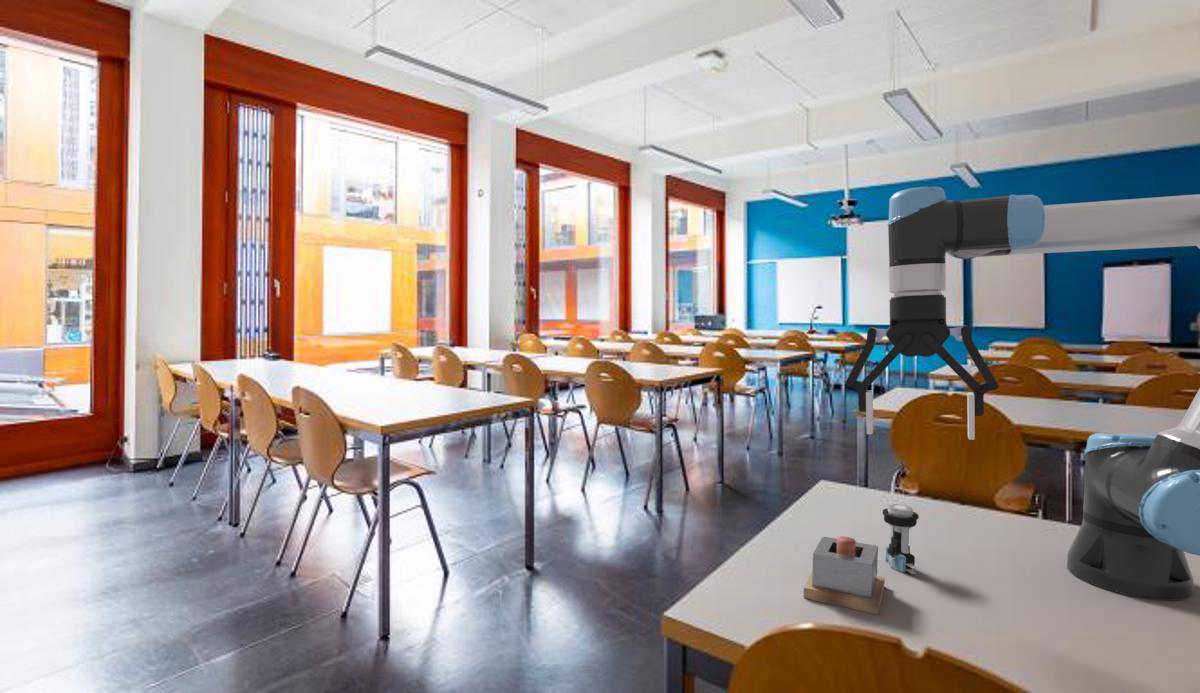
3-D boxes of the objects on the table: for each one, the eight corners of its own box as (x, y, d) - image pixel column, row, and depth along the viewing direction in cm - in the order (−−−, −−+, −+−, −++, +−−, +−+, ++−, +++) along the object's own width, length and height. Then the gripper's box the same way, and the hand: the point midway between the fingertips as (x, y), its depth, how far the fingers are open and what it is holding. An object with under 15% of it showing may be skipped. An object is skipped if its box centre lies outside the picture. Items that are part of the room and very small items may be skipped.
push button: (929, 576, 99) (931, 514, 98) (898, 578, 98) (900, 515, 98) (903, 559, 106) (905, 501, 105) (874, 561, 105) (876, 502, 104)
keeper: (884, 586, 95) (886, 535, 95) (877, 614, 86) (879, 557, 86) (816, 572, 100) (817, 523, 100) (803, 597, 91) (804, 544, 91)
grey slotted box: (877, 578, 95) (878, 545, 94) (871, 599, 88) (872, 564, 87) (822, 567, 99) (822, 536, 98) (812, 586, 92) (812, 553, 91)
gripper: (1013, 290, 90) (1014, 435, 91) (832, 298, 102) (834, 426, 103) (1020, 289, 84) (1021, 445, 85) (825, 298, 96) (828, 435, 97)
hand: (918, 435), depth 94 cm, fingers open, 13 cm apart
